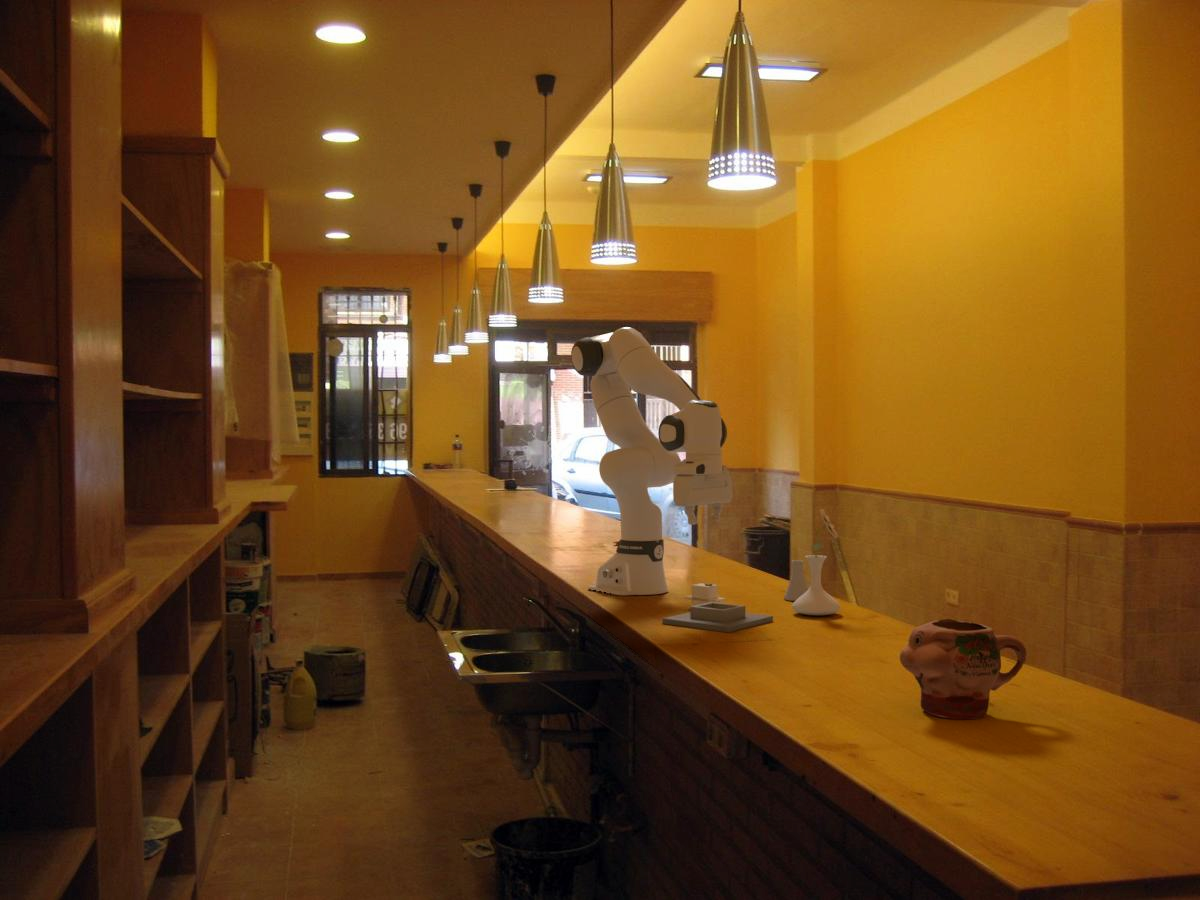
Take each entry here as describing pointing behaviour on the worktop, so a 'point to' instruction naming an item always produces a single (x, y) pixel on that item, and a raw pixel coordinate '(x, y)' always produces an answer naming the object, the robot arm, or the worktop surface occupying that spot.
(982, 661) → the sculpted ceramic mug
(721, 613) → the plate
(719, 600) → the block
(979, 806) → the worktop surface
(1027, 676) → the worktop surface
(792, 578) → the flask
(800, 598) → the flower in vase
